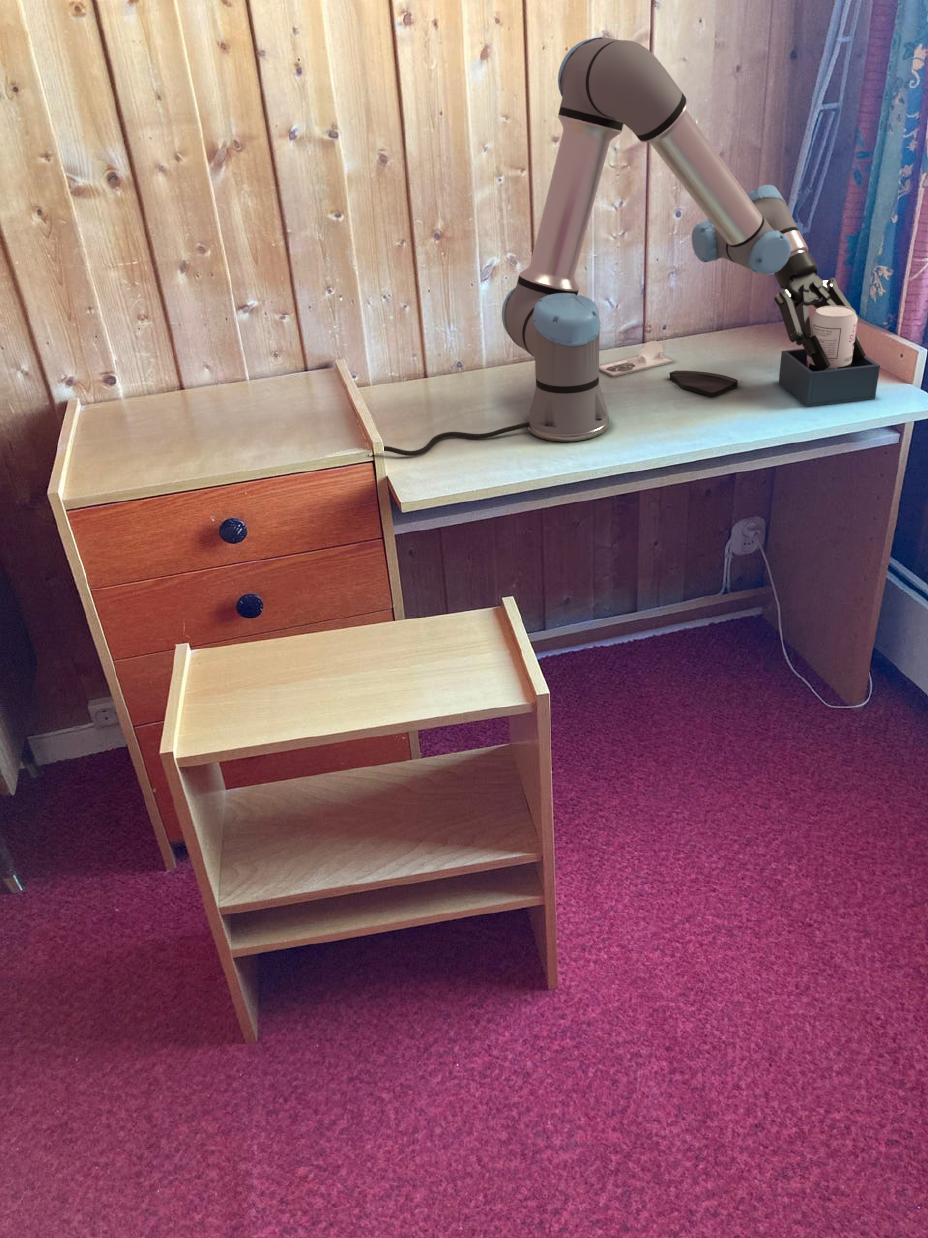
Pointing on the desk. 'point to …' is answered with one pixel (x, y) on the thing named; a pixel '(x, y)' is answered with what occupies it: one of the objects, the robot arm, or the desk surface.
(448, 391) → the desk surface
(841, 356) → the supplement can
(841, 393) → the bin
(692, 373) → the fan shaped piece
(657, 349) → the white plate with bracket
